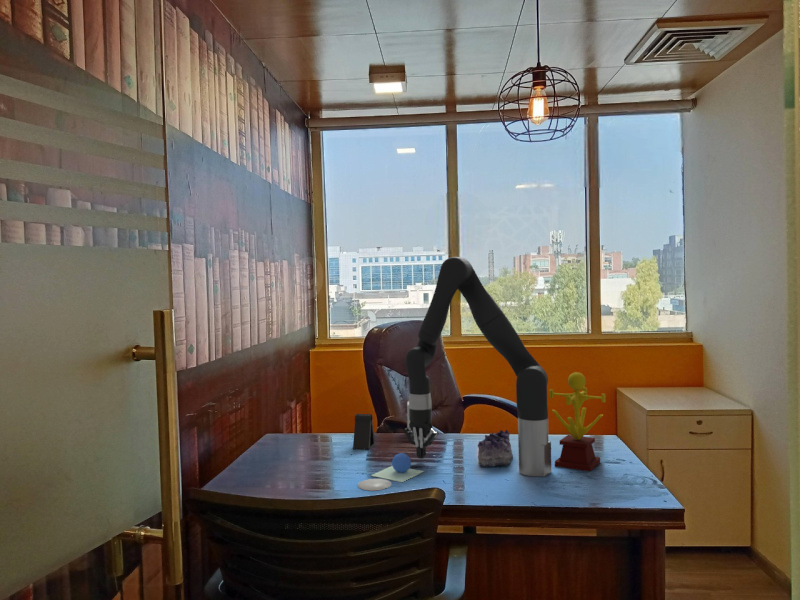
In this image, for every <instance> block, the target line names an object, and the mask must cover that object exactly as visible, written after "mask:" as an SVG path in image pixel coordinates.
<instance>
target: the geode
mask: <svg viewBox="0 0 800 600" xmlns="http://www.w3.org/2000/svg"><path fill="white" fill-rule="evenodd" d="M510 440H511V439H510V432H509V431H508V430H507V429H505V431H503V430H502V429H500V430H499V432H497V433H495V432H491V433H490V434H489V435H487V434H485V435H484V439H482V440H481V441H479V442H478V443H477V447H478V452H477V459H478V463H477V464H478V465H479V466H481V467H482V468H486V467H496V466H497V467H498V466H499V467H500V466H503V467H504V466H506V467H507V466H510V465H511V461H512V460H513V458H514V454H513V449H512V444H511V442H510Z"/></svg>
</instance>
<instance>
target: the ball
mask: <svg viewBox="0 0 800 600" xmlns="http://www.w3.org/2000/svg"><path fill="white" fill-rule="evenodd" d="M411 464H412V460H411V458H410V456H409V455H408V454H406V453H403V452H401V453H397V454H395V455H394V456H393V458H392V461H391V466H393V468H394V469H395V471H397V472H399V473H404V472H406V471H408V470H409V468H410V469H411V466H412V465H411Z"/></svg>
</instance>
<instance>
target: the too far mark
mask: <svg viewBox="0 0 800 600" xmlns="http://www.w3.org/2000/svg"><path fill="white" fill-rule="evenodd" d="M357 487H358V488H359V489H361V490H364V491H373V492H375V491H382V490H386V489H385V488H387V489H389V488H390V487H392V482H391V480H388V479H383V478H370V479H364V480H361V481H359V482H358V484H357ZM388 487H389V488H388Z"/></svg>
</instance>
